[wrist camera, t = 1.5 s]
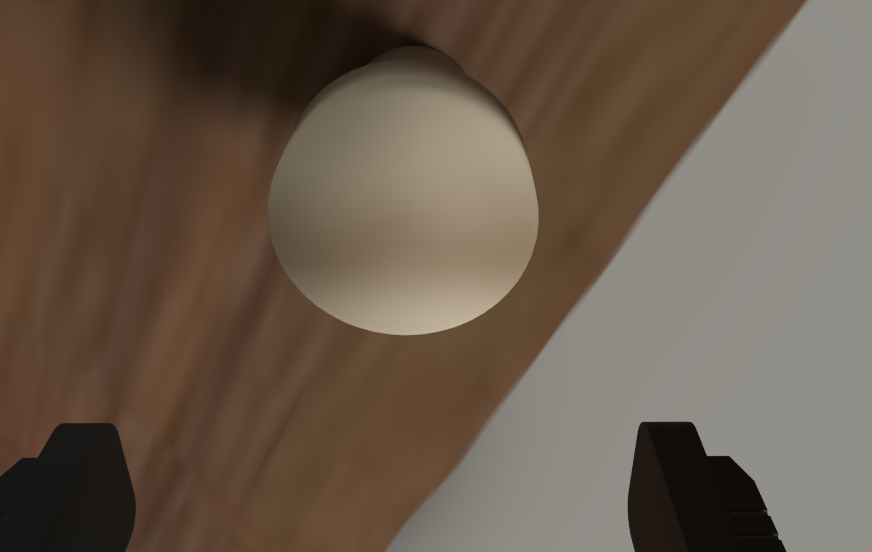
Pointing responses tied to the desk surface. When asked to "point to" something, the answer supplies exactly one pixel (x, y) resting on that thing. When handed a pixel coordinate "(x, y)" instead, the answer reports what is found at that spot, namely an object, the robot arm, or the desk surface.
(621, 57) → the desk surface
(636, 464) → the robot arm
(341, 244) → the beech pin
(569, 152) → the desk surface
